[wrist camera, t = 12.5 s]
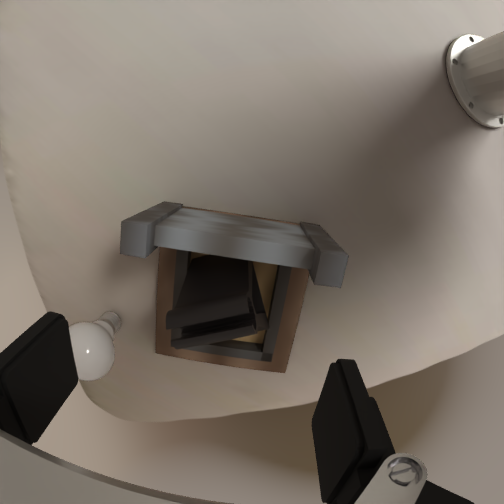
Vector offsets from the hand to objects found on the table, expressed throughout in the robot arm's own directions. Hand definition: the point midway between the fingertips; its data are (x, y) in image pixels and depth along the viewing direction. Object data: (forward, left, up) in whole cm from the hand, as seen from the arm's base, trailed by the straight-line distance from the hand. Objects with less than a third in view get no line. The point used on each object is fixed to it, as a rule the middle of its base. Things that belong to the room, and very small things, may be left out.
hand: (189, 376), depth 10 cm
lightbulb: (+14, +14, -25) cm, 31 cm away
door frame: (0, +8, -24) cm, 25 cm away
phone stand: (-1, +6, -22) cm, 23 cm away
